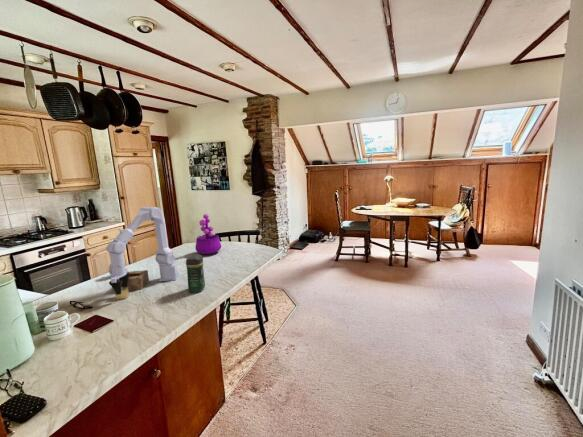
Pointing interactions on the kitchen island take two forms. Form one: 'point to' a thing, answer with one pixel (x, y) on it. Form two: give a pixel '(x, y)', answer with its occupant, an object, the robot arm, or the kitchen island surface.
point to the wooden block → (123, 293)
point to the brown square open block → (137, 279)
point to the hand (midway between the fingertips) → (121, 291)
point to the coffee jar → (195, 273)
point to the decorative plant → (207, 238)
